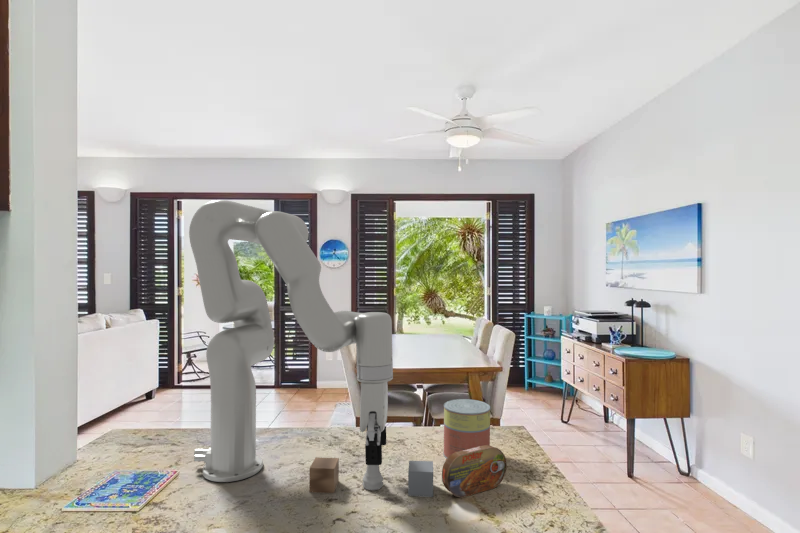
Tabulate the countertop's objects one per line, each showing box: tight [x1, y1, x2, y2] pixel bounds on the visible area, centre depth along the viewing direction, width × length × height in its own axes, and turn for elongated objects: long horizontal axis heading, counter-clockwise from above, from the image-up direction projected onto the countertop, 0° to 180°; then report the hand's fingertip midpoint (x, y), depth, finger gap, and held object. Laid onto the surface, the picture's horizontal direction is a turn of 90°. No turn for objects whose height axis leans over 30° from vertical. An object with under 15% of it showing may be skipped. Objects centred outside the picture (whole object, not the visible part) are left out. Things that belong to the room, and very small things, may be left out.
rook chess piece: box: [362, 465, 384, 491], centre depth 93 cm, size 4×4×8 cm
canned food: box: [442, 398, 491, 459], centre depth 109 cm, size 11×11×12 cm
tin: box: [441, 445, 508, 499], centre depth 92 cm, size 15×3×8 cm, turn 118°
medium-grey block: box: [407, 460, 434, 498], centre depth 92 cm, size 5×5×5 cm
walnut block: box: [308, 456, 340, 494], centre depth 93 cm, size 5×5×5 cm
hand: (376, 454), depth 93 cm, fingers open, 9 cm apart
